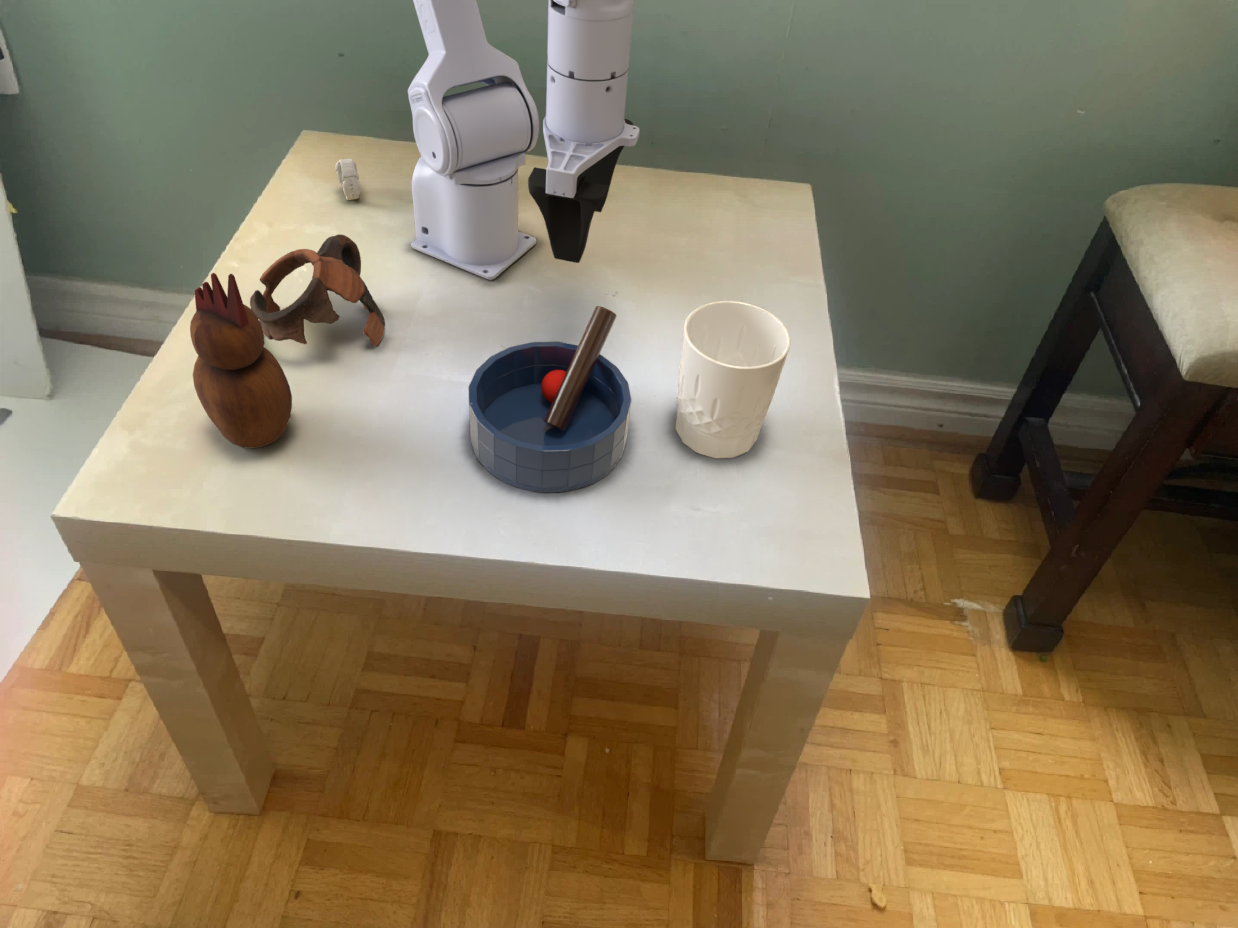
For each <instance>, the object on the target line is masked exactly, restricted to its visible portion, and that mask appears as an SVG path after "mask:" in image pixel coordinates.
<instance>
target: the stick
mask: <svg viewBox="0 0 1238 928" xmlns="http://www.w3.org/2000/svg"><path fill="white" fill-rule="evenodd" d="M616 319H617V314H616V313H615V312H614V311H612V310H610V309H608V308H606V307H604V306H600V305H596V306H595V308H594V310H593V312H592V313H591V316H590V319H589V321H588V323H587V325H586V327H585V330H584V332H583V333H582V336H581V339H580V341H579V343H578V344H577V345H578V347H577V349H576V351H575V354H574V356H573V358H572V360H571V362H570V365H569V367H568V369H567V371H566V373H565V376H564V378H563V380H562V382H561V384H560V387H559V389H558V391H557V393H556V395H555V398H554V400H553V402H552V404H551V406H550V409H549V411H548V413H547V415H546V417H545V420H544V422H545V423H546V424H548V425H551V426H553V427H555V428H557V429H559V430H562V431H565V429H566V427H567V425H568V423H569V420H570V418H571V416H572V414H573V412H574V409H575V407H576V405H577V403H578V401H579V398H580V396H581V394H582V392H583V390H584V387H585V385H586V383H587V381H588V379H589V376H590V374H591V372H592V370H593V367H594V365H595V363H596V361H597V359H598V356H599V354H601V352H602V350H603V348H604V345H605V343H606V341H607V339H608V337H609V334H610V333H611V330H612V328H613V325H614V323H615V321H616Z"/></svg>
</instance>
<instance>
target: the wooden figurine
mask: <svg viewBox="0 0 1238 928" xmlns="http://www.w3.org/2000/svg"><path fill="white" fill-rule="evenodd" d="M210 279H211V285H210V283H209V281H204V282H203V283H202V284H201V287H200V286H199V287H197V288H196V289H194V301H195V310H196V311H195V312H194V314H193V316H192V318H191V320H190V324H189V332H190V339H191V343H192V346H193V349H194V351H195V352H196V354H197V358H196V361H195V362H194V366H193V371H192V380H193V386H194V389H195V393H196V395H197V398H198V400H199V402H200V404H201V406H202V408H203V410H204V412H205V413H206V415H207V417H208V418H209V420H210V421H211V422H212V423H213V425H214V426H215V428H216V429H217V430H218V431H219V432H220V434H221V435H222V436H223V438H224V439H226V440H227V441H228V442H230V443H231V444H232V445H235V446H237V447H240V448H243V449H244V448H245V449H247V448H248V449H257V448H260V447H264V446H267V445H270V444H272V443H274V442H276V441H278V439H279V438H280V437H281V436H282V435H284V433H285V431H286V429H287V428H288V424H289V422H290V418H291V414H292V409H293V395H292V390H291V387H290V384H289V381H288V379H287V376H286V374H285V372H284V370H283V368H282V366H281V363H280V362H279V361H278V359H277V358H276V356H275V355H274V354H273V353H272V352H271V351H270V350H269V349H268V348H266V347H265V335H264V333H263V330H262V326H261V323H260V321H259V319H258V318H257V316H256V315H255V313H254V312H253V310H251V307H250V306H248V305H246V304H244V302H243V299H242V296H241V292H240V290H239V289H240V288H239V286H238V283H237V280H236V277H235V275H234V274H233V273H229V274H228V276H227V292H225V289H224V287H223V286H222V285H223V284H222V283H221V281H220V279H219V277H218V275H217V274H216V273H215V272H212V273H211V274H210Z"/></svg>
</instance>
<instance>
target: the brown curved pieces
mask: <svg viewBox="0 0 1238 928" xmlns="http://www.w3.org/2000/svg"><path fill="white" fill-rule="evenodd" d="M305 264H311V266H312V267H313V272H312V276H311V280H310V281H309V282H308V285H307V287H306V288H305V290H304V291H303V292H302V293H301V295H300V296H299V297H297V299H296V300H295V301H294V302H292V303H291V304H289V305H288V306H286V307H285V308H283V309H281V307H280V306H279V304H277V302H275V301H274V297H273V293H274V292H275V290H276V289H277V288H278V286H279V285H280V284H281V282H282V281H283V280H284V279H285V278H286V277H287V276H289V275H290V274H292V273H293V272H294V271H296V270H297V269H299V268H301V267H304V266H305ZM361 272H362V257H361V252H360V250H359V247H358V245H357V243H356V242H355V241H353V240H352V239H351V238H350V237H349V236H346V235H345V234H341V233H340V234H336V235H332V236H328V237H327V238H326V239H325V240H324V241H323V243H322V244H321V246H320V247H319V249H318V250H317V252H316V251H315V250H312V249H309V248H300V249H294V250H292V251H290V252H287V253H286V254H284V255H282V256H280V257H279V258H278V259H276V260H275V261H274V262H273V263H271V265H270V266H269V267H268V268H267V269H266V270H264V272H263V273H262V274H261V276H260V277H259V282H260V283H261V284H262V285H264V287H265V289H264V291H263V293H262V292H261V291H260V290H259V289H257V290H255V291H254V292H253V293H252V295H251V296H250V299H249V300H250V301H249V307H250V309H251V310H253V312H254V313H255V315H256V316H257V318H258V320H259V321H260V323H261V326H262V330H263V335H264V337H266V338H267V339H268V340H270V341H273V340H274V341H278V342H279V341H280V342H283V341H287V340H291V341H295V342H297V343H299V344H303V345H307V344H308V341H307V339H306V336H305V324H304V320H305V321H307V322H308V323H312V324H327V325H332V324H335V323H336V322H338V321H340V319H341V316H340V315H339V314H338V313H337V311H336V310H335V309H334V306H333V303H332V300H331V298H330V295H329V292H332V293H334V294H335V295H337V296H339V297H340V298H342V300H344V301H346V302H350V303H351V304H356V303H358V302H360V303H361V304H362V305H363V307H364V309H365V310H366V311H368V316H367V319H366V322H365V325H364V327H363V329H362V333H363V334H364V335H365V337H367V338H368V339H369V341H370V342H371V344H372V346H373V347H378V346H379V344H380V343H381V341H382V339H383V336H384V333H385V326H386V319H385V316H384V315H383V312H381V310H380V308H379V306H378V304H377V302H376V301H375V300H374V298H373V296H372V295H371V293H370V290H369V289H368V286H367V285H366V283H365V281H364V279H362V277H361Z"/></svg>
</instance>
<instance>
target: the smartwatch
mask: <svg viewBox="0 0 1238 928" xmlns="http://www.w3.org/2000/svg"><path fill="white" fill-rule="evenodd" d="M357 166H358V165H357V162H356V161H355V160H353V158H343V159H339V160H338V161H337V162H336V163H335V167H334V172H336V178H337V179H336V180H337V182H338V183H339V184H340V185H341V186H342V189H343V190H342V191H343V195H344V197H345V199H346V201H352V200H358V199H360V194H361V192H362V189H361V183H360V181H359V179H360V176H359V173H358V167H357Z"/></svg>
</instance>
